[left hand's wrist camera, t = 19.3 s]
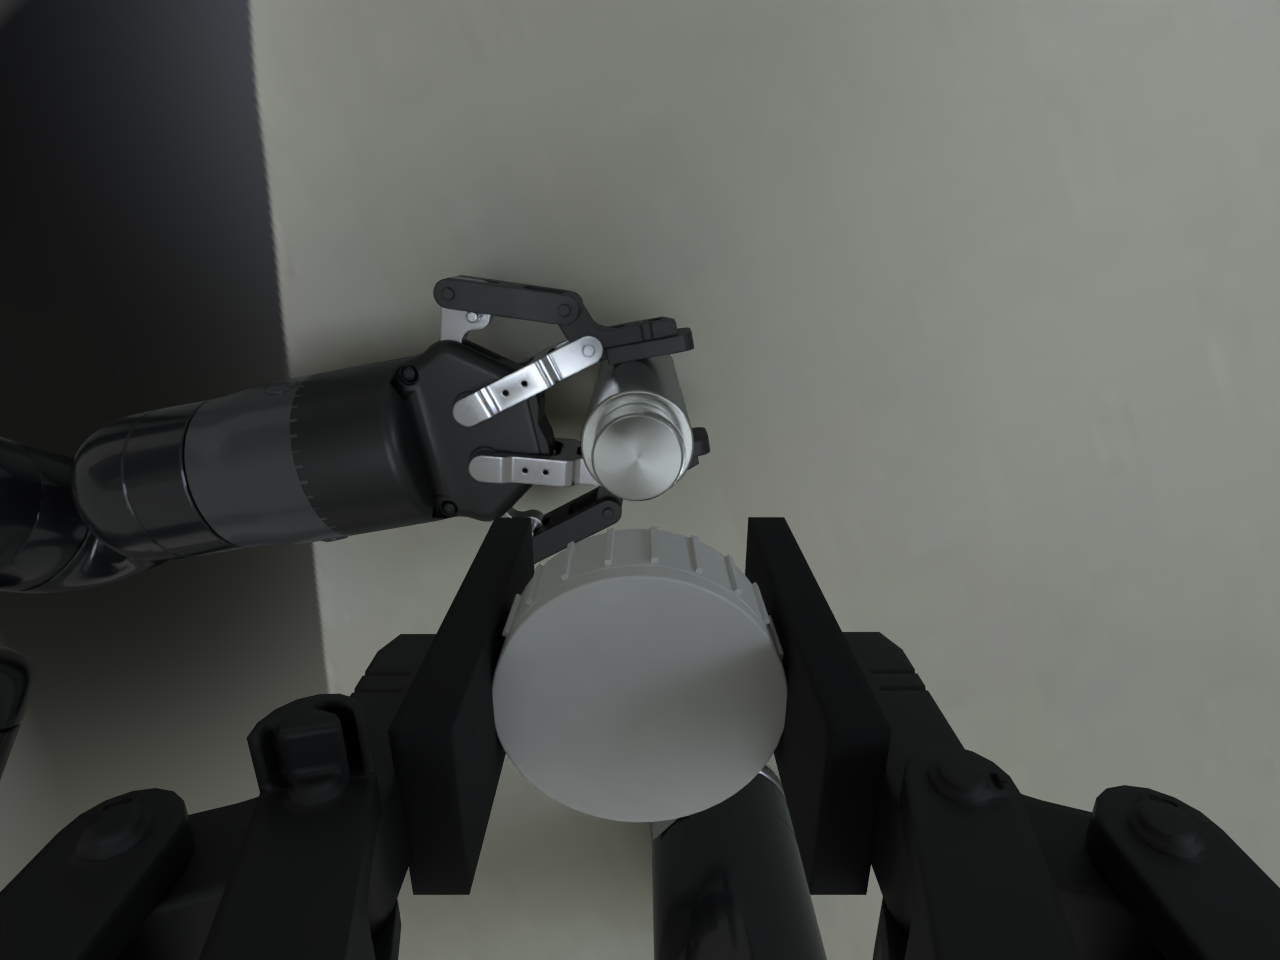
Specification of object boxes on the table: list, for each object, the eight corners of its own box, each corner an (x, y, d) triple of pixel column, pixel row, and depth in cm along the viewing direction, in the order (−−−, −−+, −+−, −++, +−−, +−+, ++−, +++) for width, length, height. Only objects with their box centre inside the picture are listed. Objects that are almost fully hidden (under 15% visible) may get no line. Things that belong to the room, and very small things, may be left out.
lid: (620, 468, 11) (617, 508, 9) (829, 630, 12) (859, 692, 10) (453, 660, 12) (425, 725, 11) (656, 792, 13) (658, 869, 12)
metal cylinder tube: (662, 418, 37) (676, 527, 23) (591, 398, 37) (563, 496, 23) (684, 348, 36) (714, 419, 22) (611, 326, 36) (595, 384, 22)
